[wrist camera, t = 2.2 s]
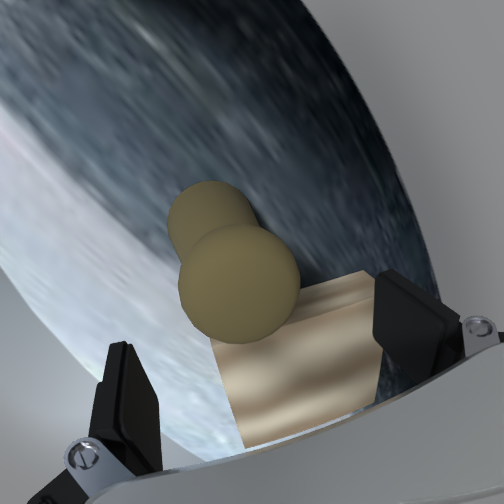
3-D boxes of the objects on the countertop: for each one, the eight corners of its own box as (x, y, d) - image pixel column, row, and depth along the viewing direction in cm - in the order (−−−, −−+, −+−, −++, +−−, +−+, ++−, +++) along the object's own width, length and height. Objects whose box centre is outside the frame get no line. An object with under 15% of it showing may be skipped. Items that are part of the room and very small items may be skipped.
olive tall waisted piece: (270, 215, 23) (348, 285, 13) (217, 278, 24) (256, 383, 14) (204, 162, 20) (240, 194, 10) (149, 233, 21) (138, 324, 11)
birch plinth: (204, 314, 24) (211, 345, 21) (363, 270, 27) (389, 291, 23) (236, 419, 30) (245, 448, 26) (356, 378, 32) (374, 402, 29)
